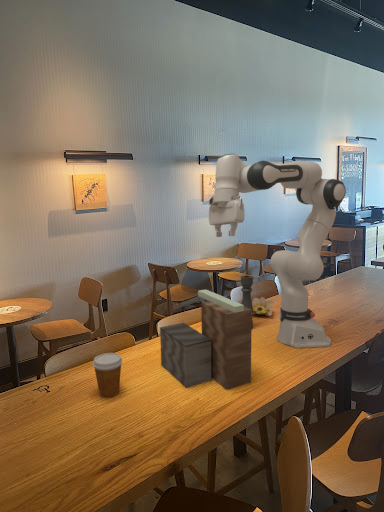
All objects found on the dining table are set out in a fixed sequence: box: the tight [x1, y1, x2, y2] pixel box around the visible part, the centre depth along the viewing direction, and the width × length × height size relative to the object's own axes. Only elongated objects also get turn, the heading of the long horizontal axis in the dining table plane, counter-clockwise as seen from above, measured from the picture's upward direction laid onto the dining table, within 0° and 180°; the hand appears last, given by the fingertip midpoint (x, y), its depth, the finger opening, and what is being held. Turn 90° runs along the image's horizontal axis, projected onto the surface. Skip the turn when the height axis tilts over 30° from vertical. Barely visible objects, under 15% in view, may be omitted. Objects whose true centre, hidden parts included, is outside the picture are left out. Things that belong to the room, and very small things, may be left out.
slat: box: [197, 289, 244, 313], centre depth 135 cm, size 24×4×2 cm, turn 29°
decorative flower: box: [251, 296, 275, 317], centre depth 201 cm, size 15×11×10 cm
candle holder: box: [240, 274, 254, 330], centre depth 182 cm, size 6×6×25 cm
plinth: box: [200, 300, 253, 391], centre depth 134 cm, size 16×10×26 cm, turn 29°
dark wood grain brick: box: [159, 322, 212, 388], centre depth 138 cm, size 20×10×15 cm, turn 29°
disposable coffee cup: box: [92, 352, 123, 398], centre depth 125 cm, size 10×10×12 cm
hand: (225, 236), depth 140 cm, fingers open, 8 cm apart
